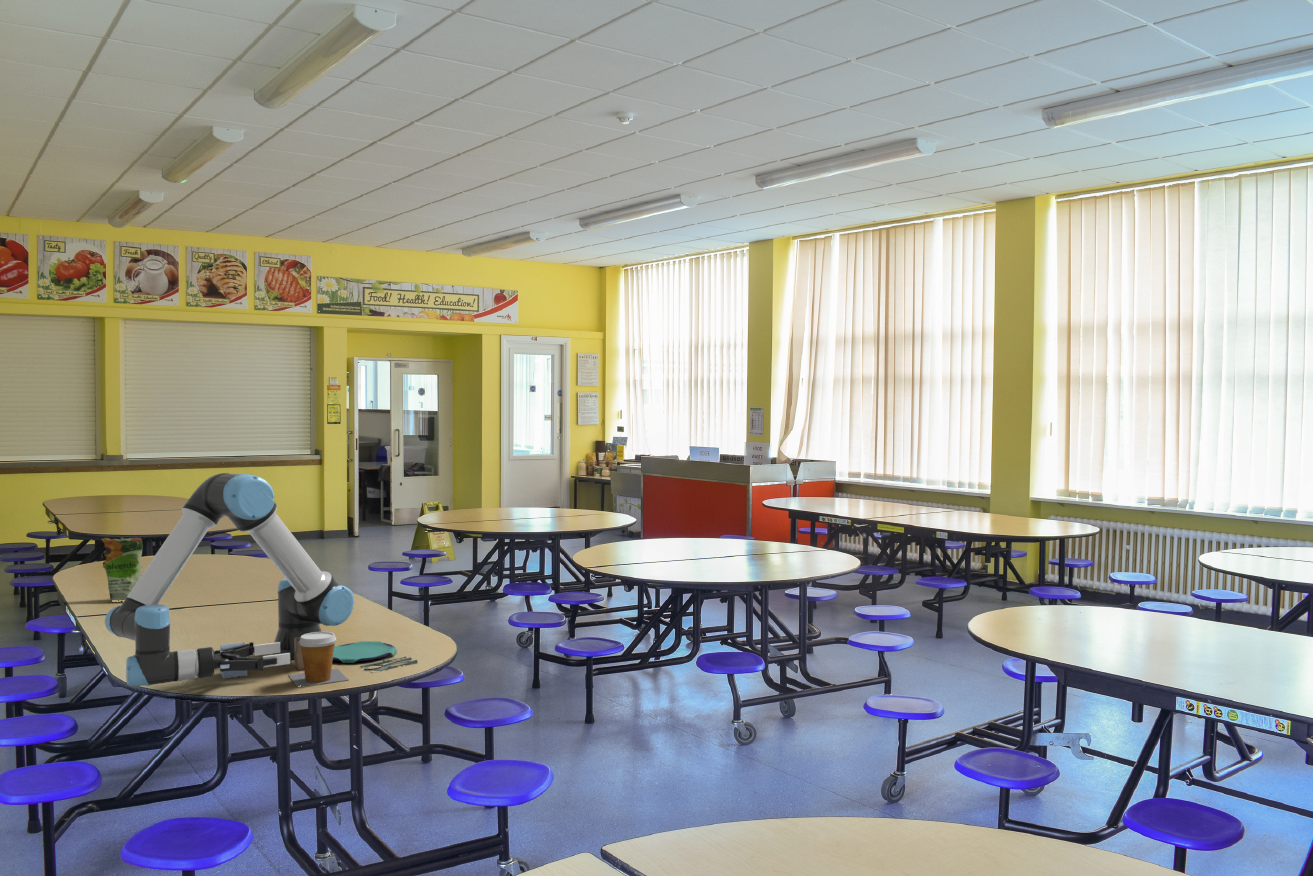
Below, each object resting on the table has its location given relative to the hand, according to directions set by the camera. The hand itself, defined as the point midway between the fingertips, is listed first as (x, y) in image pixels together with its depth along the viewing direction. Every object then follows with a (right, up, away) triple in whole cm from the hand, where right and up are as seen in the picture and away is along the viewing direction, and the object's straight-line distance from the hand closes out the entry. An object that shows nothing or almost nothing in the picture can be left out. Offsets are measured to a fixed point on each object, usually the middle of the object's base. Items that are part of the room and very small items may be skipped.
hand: (285, 652), depth 244 cm
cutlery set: (+14, -8, +25) cm, 30 cm away
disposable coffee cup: (+8, -8, +3) cm, 12 cm away
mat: (+7, -8, +5) cm, 12 cm away
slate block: (-17, -8, +8) cm, 21 cm away
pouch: (-107, -6, +109) cm, 153 cm away
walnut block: (0, -8, +17) cm, 18 cm away
